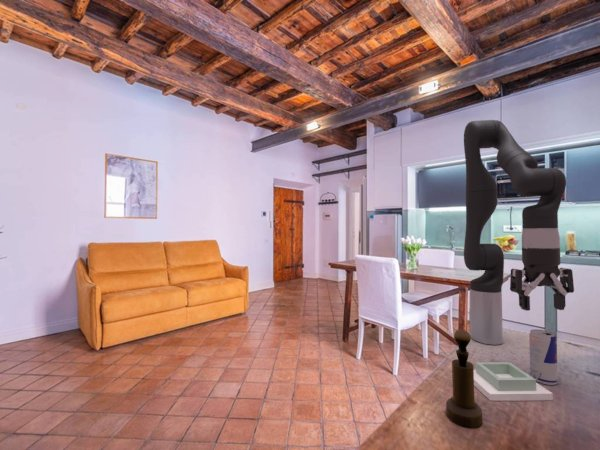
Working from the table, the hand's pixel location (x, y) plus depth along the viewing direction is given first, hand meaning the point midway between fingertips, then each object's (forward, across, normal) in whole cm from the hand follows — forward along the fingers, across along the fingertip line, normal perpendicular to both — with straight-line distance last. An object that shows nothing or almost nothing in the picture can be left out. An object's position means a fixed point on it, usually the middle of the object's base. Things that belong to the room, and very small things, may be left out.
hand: (542, 309), depth 73 cm
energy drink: (+18, 0, 0) cm, 18 cm away
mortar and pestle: (+18, +28, +14) cm, 36 cm away
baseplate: (+18, +12, +3) cm, 22 cm away
